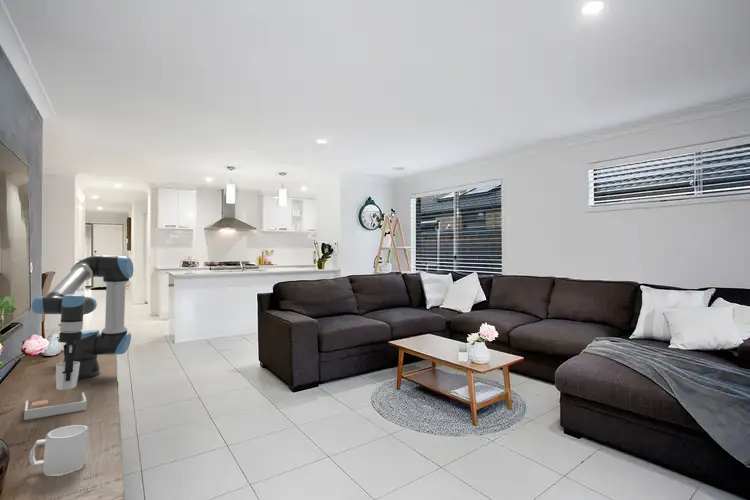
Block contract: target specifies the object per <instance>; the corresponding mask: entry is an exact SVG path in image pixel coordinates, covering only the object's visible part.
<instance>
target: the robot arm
mask: <svg viewBox="0 0 750 500" xmlns="http://www.w3.org/2000/svg"><path fill="white" fill-rule="evenodd" d="M133 275H134V263H133V261H132V259H131V258H130V257H128V256H123V255H102V254H96V255H91V256H88V257H86V258H83V259H82V260H79V261H77V262H76V263H75V264H73V266H72V267H71V269H70V272H69V273H68V274H67V275H65V277H64V278H63V279H62V280H60V281H59V282H58V284H57V285H56V286H55V287H54V288H53V289H52V290H51V291H50V292H49V293H47V295H46V296H37V297H34V298H33V300H32V302H31V310H32V313H34V314H40V315H60V323H58V327H60V328H59V331H60V332H59V333H58V334H59V335H58V339H59V341H60V342H59V343H63V342H66V343H64V345H63V356H64V358H63V361H64V362H65V371H64V372H62V374H64V380H63V389H66V390H70V389H69V388H71V384H72V372H73V361H77V362H80V366H79V374H78V379H86V378H92V377H95V376H97V375H98V376H99V374H100V373H101V367H100V364H99V361H98V356H102V355H103V356H109V355H111V356H117V355H124V354H125V353H127V351H128V349H129V347H130V344H131V340H132V333H131V332H128V328H127V327H126V326H125V312H126V311H125V310H126V309H125V307H126V306H125V305H126V304H125V303H126V285H127V283H128V282H130V281H129V280H130V278H132V277H133ZM91 278H103V279H102V281H103V283H105V285H106V286H105V287H106V289H105V291H106V292H105V293H106V295H105V323H104V326H105V327H104V328H102V330H101V332H100V330H99V329H89V330H83V327H84V326H83V324H84V315H88V314H90V313H92V312H94V311H95V310H96V308H97V305H98V303H97V301H96V299H94V298H93V297H92V296H91V297H90V296H85V295H84V294H75V293H76V292H77V290H78V289H79V288H80V287H81V286H82V285H83V284H84V283H85V282H86V281H88V280H90V279H91ZM82 330H83V331H82ZM67 369H68V370H67Z"/></svg>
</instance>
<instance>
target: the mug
mask: <svg viewBox="0 0 750 500" xmlns="http://www.w3.org/2000/svg"><path fill="white" fill-rule="evenodd" d="M88 436H89V427H88V426H87V425H84V424H72V425H66V426H62V427H57V428H56V429H52V430H51V431H48V432H47V433H46V434H45V438H44V439H37V440H36V441H35V443H34V445H33V446H32V447H31V449H30V451H29V458H28V459H29V463H30V465H31V468H34V467H39V466H42V473H43V472H44V473H45V474H48V475H51V474H52V475H53V474H61V473H67V472H70V471H73V470H76V469H78V468H80V467H81V466H83V465H84V464H85V463H86V461H87V449H88V448H87V447H88ZM38 445H39V446H40V445H44V453H43V459H41V460H37V459H36V458H35V455H36V453H35V452H36V447H37V446H38ZM85 465H86V464H85Z"/></svg>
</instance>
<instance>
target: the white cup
mask: <svg viewBox="0 0 750 500" xmlns="http://www.w3.org/2000/svg"><path fill="white" fill-rule="evenodd" d="M61 362H62V361H61ZM79 366H80V362H77V361H73V372H72V384H71V388H69V389H68V390H71V389H74V388H76V387H77V385H78V379H79V378H78V374H79ZM67 370H68V369H67ZM64 371H65V362H62V363H59V362H58V363H56V364H55V382H56V385H55V387H56V388H55V389H56V390H59V391H60V390H61V391H65V390H67V389H63V380H64V374H62V372H64Z"/></svg>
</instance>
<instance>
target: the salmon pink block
mask: <svg viewBox="0 0 750 500" xmlns="http://www.w3.org/2000/svg"><path fill="white" fill-rule="evenodd" d="M42 407H49V399H44V400H43V399H42V400H37V401H32V403H31V406H30V409H35V408H42Z"/></svg>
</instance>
